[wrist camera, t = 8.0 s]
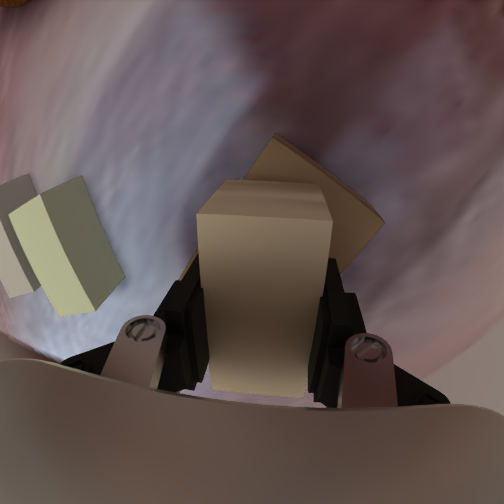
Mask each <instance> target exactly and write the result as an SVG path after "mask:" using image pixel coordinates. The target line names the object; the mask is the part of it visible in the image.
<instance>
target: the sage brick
mask: <svg viewBox="0 0 504 504" xmlns="http://www.w3.org/2000/svg"><path fill="white" fill-rule="evenodd" d="M9 218H10V220H11V223H12V225H13V228H14V230H15V232H16V235H17V237H18V239H19V241H20V244H21V246H22V248H23V250H24V252H25V254H26V256H27V259H28V261H29V263H30V265H31V267H32V269H33V271H34V273H35V275H36V277H37V278H38V280H39V282H40V284H41V286H42V288H43V290H44V291H45V293H46V295H47V297H48V299H49V300H50V302H51V304H52V306H53V307H54V309H55V311H56V312H57V314H58V316H59V317H62V316H68V315H75V314H81V313H87V312H93V311H96V310H97V309H98V308H99V307H100V306H101V304H102V303H103V302H104V301H105V300H106V298H107V297H108V296H109V295H110V294H111V293H112V291H113V290H114V289H115V288H116V287H117V286H118V285H119V283H120V282H121V281H122V280H123V279H124V278H125V275H124V273H123V271H122V269H121V267H120V265H119V263H118V261H117V259H116V257H115V254H114V252H113V250H112V248H111V246H110V244H109V241H108V239H107V237H106V235H105V232H104V230H103V228H102V225H101V223H100V221H99V218H98V216H97V214H96V211H95V209H94V206H93V204H92V201H91V199H90V196H89V194H88V191H87V189H86V186H85V183H84V181H83V178H82V176H80V177H77V178H75V179H73V180H70V181H68V182H66V183H63V184H61V185H59V186H57V187H54V188H52V189H50V190H48V191H46V192H43V193H41V194H39V195H38V196H36V197H35V198H33V199H31V200H30V201H28V202H27V203H25V204H24V205H22V206H21V207H19V208H17V209H16V210H14V211H13V212H12V213H10V214H9Z"/></svg>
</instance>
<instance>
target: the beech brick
mask: <svg viewBox="0 0 504 504" xmlns="http://www.w3.org/2000/svg"><path fill="white" fill-rule="evenodd" d="M196 218H197V236H198V252H199V266H200V279H201V288H203V291H204V304H205V315H206V326H207V337H208V347H209V356H210V359H209V371H210V379H211V387H212V389H213V390H221V391H229V392H237V393H246V394H256V395H268V396H282V397H300V398H303V395H304V390H305V386H306V381H307V377H308V363H309V358H310V353H311V347H312V342H313V337H314V331H315V326H316V320H317V314H318V308H319V302H320V297H322V296H323V290H324V284H325V277H326V270H327V263H328V256H329V249H330V241H331V233H332V225H333V220H332V217H331V215H330V212H329V209H328V206H327V204H326V201H325V198H324V196H323V193H322V190H321V188H320V185H319V184H308V183H293V182H276V181H255V180H225V181H224V182H223V184H222V185H221V186H220V187H219V188H218V189H217V190H216V191H215V193H214V194H213V195H212V196H211V197H210V198H209V199H208V201H207V202H206V203H205V204H204V205H203V206H202V208H201V209H200V210H199V211H198V212H197V213H196Z"/></svg>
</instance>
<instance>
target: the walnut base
mask: <svg viewBox="0 0 504 504" xmlns="http://www.w3.org/2000/svg"><path fill="white" fill-rule="evenodd" d="M243 180H255V181H276V182H293V183H308V184H319V185H320V188H321V190H322V193H323V196H324V198H325V201H326V204H327V206H328V209H329V212H330V215H331V217H332V220H333V225H332V233H331V241H330V249H329V256H328V258H335V259H336V262H337V265H338V269H339V273H340V274H341V273H342V272H343V271H344V269H345V268H346V267H347V266H348V265H349V264H350V263H351V262H352V261H353V259H354V258H355V257H356V256H357V255H358V254H359V253H360V252H361V250H362V249H363V248H364V247H365V246H366V245H367V244H368V242H369V241H370V240H371V239H372V238H373V237H374V235H375V234H376V233H377V232H378V231H379V230H380V228H381V227H382V226H383V225H384V224H385V222H384V221H383V219H382V218H381V217H380V215H379V214H378V213H377V212H376V210H375V209H374V208H373V207H372V205H371V204H369V203H368V202H367V201H366V200H365V199H363V198H362V197H361V196H360V195H358V194H357V193H356V192H355V191H353V190H352V189H351V188H350V187H348V186H347V185H346V184H345V183H343V182H342V181H341V180H339V179H338V178H337V177H335V176H334V175H333V174H331V173H330V172H329V171H328V170H326V169H325V168H324V167H322V166H321V165H319V164H318V163H317V162H315V161H314V160H313V159H311V158H310V157H308V156H307V155H306V154H304V153H303V152H301V151H300V150H299V149H297V148H296V147H294V146H293V145H292V144H290V143H289V142H287V141H286V140H284V139H283V138H281V137H280V136H278V135H277V134H274V136H273V137H272V139H271V140H270V141H269V143H268V144H267V146H266V147H265V148H264V150H263V151H262V153H261V154H260V156H259V157H258V159H257V160H256V161H255V163H254V164H253V166H252V167H251V169H250V170H249V172H248V173H247V175H246V176H245V177H244V179H243ZM197 254H198V249H197V250H196V252H195V254H194V255H193V257H192V258H191V260H190V262H189V263H188V265H187V266H186V268H185V270H184V271H183V273H182V274H181V276H180V278H179V279H178V280H182V278H183V277H184V275H185V273H186V272H187V270H188V268H189V267H190V265H191V264H192V262H193V260H194V259H195V257H196V255H197Z"/></svg>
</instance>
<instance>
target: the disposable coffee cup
mask: <svg viewBox="0 0 504 504" xmlns="http://www.w3.org/2000/svg"><path fill="white" fill-rule="evenodd" d="M29 1H30V0H0V7H19V6H22V5H24V4H26V3H27V2H29Z"/></svg>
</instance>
